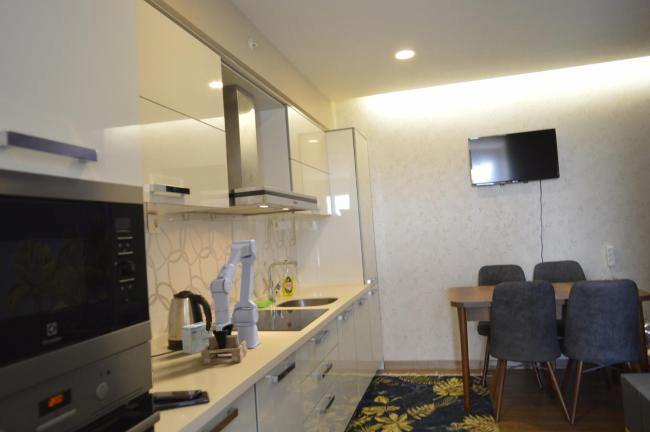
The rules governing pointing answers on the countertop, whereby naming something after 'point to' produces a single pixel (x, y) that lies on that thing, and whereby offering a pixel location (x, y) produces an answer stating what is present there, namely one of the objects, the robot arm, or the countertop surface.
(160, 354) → the countertop surface
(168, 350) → the countertop surface
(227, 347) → the brown wooden block
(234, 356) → the wooden stool
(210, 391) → the countertop surface
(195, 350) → the light bulb box
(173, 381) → the countertop surface
